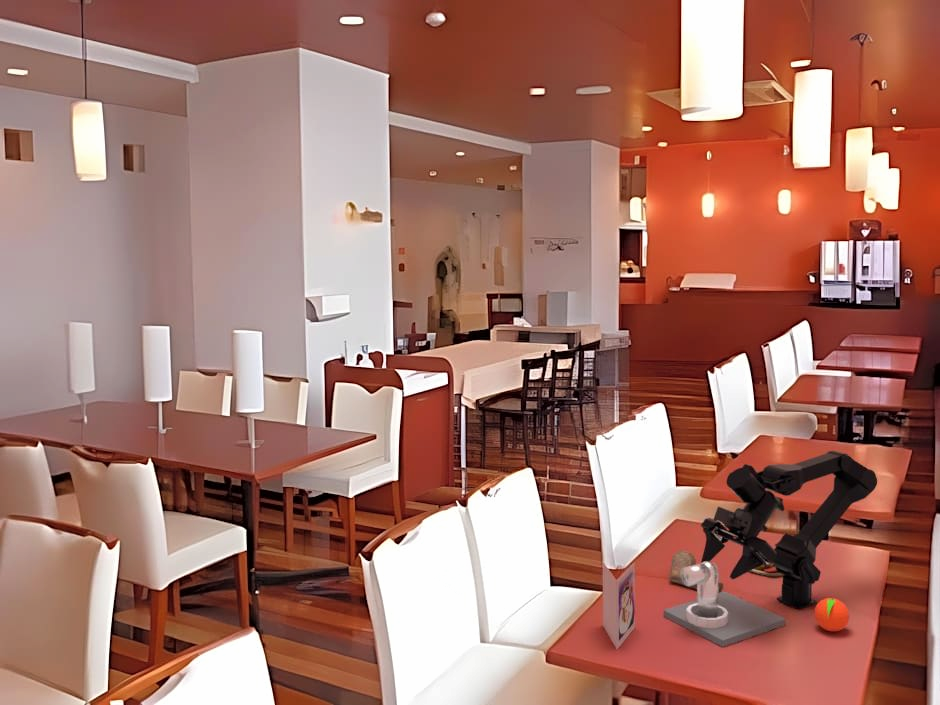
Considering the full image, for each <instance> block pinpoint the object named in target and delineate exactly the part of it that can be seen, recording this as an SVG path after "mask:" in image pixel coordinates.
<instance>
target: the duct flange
mask: <svg viewBox="0 0 940 705" xmlns="http://www.w3.org/2000/svg"><path fill="white" fill-rule="evenodd" d="M663 617H664V618H666V619H668V620H670V621H671V622H674V623H675V624H677V625H680V626H681V627H684V628H685V629H686V630H688V631H691V632H692V633H695V634H696V633H697V635H698V634H699V635H698V636H701V637H703V638H704V639H707V640H708V641H710V642H712V643H714V644H715V645H717V644H718V646H719V645H720V646H719V647H721V646H722V647H721V648H725V647H727V645H728V646H730V644H731V645H733V643H734V644H736V643H739V642H742V641H744V640H743V639H745V640H747V638H748V639H750V638H749V637H751V638H753V637H752V636H754V637H756V636H759V635H761V633H762V634H765V633H767V632H766V631H768V632H770V631H769V630H771V631H773V630H772V629H774V630H776V629H775V628H777V629H779V628H781V626H782V627H784V625H785V626H786V618H785V617H783V616H780V615H778V614H776V613H773V612H771V611H769V610H767V609H764V608H763V607H760V606H759V605H758V606H757V605H756V604H753V603H752V602H749V601H747V600H744V599H742V598H740V597H738V596H735V595H734V594H731V593H729V592H726V591H721V592H719V593H718V617H717V618H705V617H700V616H697V599H694V600H691V601H688V602H685V603H681V604H679V605H675V606H671V607H668V608H665V609H663ZM778 627H779V628H778ZM764 632H765V633H764ZM758 634H759V635H758ZM755 635H756V636H755ZM741 640H742V641H741ZM738 641H739V642H738ZM735 642H736V643H735ZM724 646H725V647H724Z"/></svg>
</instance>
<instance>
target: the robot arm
mask: <svg viewBox="0 0 940 705" xmlns="http://www.w3.org/2000/svg"><path fill="white" fill-rule="evenodd" d="M829 475H833V476H834V478H833V490H832V491H831V492H830V494H829V495H828V496H827V497H826V498H825V500H824V501H823V502H822V504H821V505H819V507H818V508H817V509H816V510H815V512H814V514H812V515H811V517H810V518H809V519H808V521H807V522H806V523H805V525H803V527H801V529H800V531H798V532H797V533H796V534H794V535H792V534H790V533H785V534H783V535H782V537H781V539H780V540H779V541H778V542H777V543H775V544H774V546H775V547H774V548H773V547H772V546H771V544H770V543H768V542H767V540H765V539H762V538H760V537H758V536H759V535H760V532H767V530H768V527H767V526H766V524H767V523H768V521H769V519H770V518H771V517H772V515H773V514H774V512H775V510H778V511H781V512H784V511H785V506H784V499H783V498H781V497H779V496H776V495H775V493H777V494H779V495H782V496H791V495H793V494H794V493H796V492H798V491H799V490H801V489H802V487H803V485H805V484H806V483H809V482H812V481H814V480H817V479H819V478H823V477H825V476H829ZM726 485H727V487H729V489H730V490H731V492H733V493H734V494H735V495H736V496H737V497H738V498H739V500H741V502H743V503H745V505H744V507H743V508H740V507H738V508H736V509H735V511H732V510H729V509H726V508H723V507H721V506H717V508H716V510H715V511H716V512H715V513H714V516H713V518H711V517H707V518H705V519H704V520H703V522H702V523H701V524H700V527H701V528H702V532H703V533H704V534H705V546H704V550H703V552H702V553H703V554H702V557H701V561H700V564H701V563H702V562H705V561H710V562H712V560H713V559H714V558H715V557H716V556H717V555H718V554H719V553H720V552H721V551H722V550H723V549H724V548H725V547H726V545H725V544H726V543H728V542H729V541H730V542H732V543H734V544H737V545H739V546H741V547H742V552H741V557H740V558H739V560H738V561H737V562H736V564H735V566H734V568H733V569H732V571H731V572H730V575H729V578H730V579H731V580H735V579H737V578H739V577H741V576H742V575H745V574H746V573H749V572H750V570H752V569H755V568H757V567H759V566H761V565H765V566H766V564H767V563H769V564H771V565H772V564H773V563H774V565H775V568H776V572H778V573H781V574H783V576H782V584H781V596H777V597H776V601H779V602H781V603H783V604H785V603H786V605H788V606H790V607H792V608H795V609H797V610H800V609H803V608H807V607H809V606H812V605H817V604H818V603H817V602H818V600H816V599H814V598H812V585H814V584H815V582H818V581H819V580H820V577H821V573H822V572H821V570H820V569H819V568H818V567H817V566H816V565H815V564H814V563H815V562H816V559H817V558H816V556H817V548H818V546H819V545H820V544H821V543H822V541H823V540H824V539H825V538H826V536H827V535H828V534H829V533H830V531H831V530H832V529H833V528H834V526H835V525H836V524H837V523H838V522H839V521H840V519H841V518H842V517H843V515H844V514H845V513H846V512H847V510H848V509H849V508H850V506H851V505H852V504H854V503H857V502H859V501H862V500H865V499H866V498H867V497H868V496H869V495H870V494H871V493H872V492H873V491H874V490H875V489H876V487H877V485H878V478H877V475H876V472H875V471H874V470H872V469H870V468H867V467H866V466H864V465H863V464H861V463H860V462H858V461H856V460H854V459H853V458H852V457H851V456H850V455H849V454H848V453H845V452H841V451H836V450H830V451H827V452H826V453H823V454H821V455H818V456H815V457H812V458H808V459H806V460H802V461H799V462H796V463H792V464H787V463H786V464H784V463H783V464H781V463H777V464H769V465H766V466H765V467H764V468H763V470H760V471H757V470H756V469H755V468H754V467H753V465H750V464H747V463H745V464H743V466H742V467H739V468H736V469H735V470H732V472H730V473H729V474H728V476H727V478H726ZM766 562H767V563H766Z"/></svg>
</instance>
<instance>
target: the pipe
mask: <svg viewBox="0 0 940 705" xmlns="http://www.w3.org/2000/svg"><path fill="white" fill-rule="evenodd" d="M693 565H697V561H696V558H695V556H694V555H693V554H692V553H691V552H689V551H687V550H680V551H677V552H675V553H674V555H673V556H672V559H671V565H670V574H669V578H668V579H669V581H670V582H672V583H674V584H675V583H676V584H678V585H681V586H684V587H688V588H690V589H693V588H694V589H693V590H697V584H696V585H692V586H686V585H684V584H683V582H682V580H681V577H680V571H681V569H682V568H684V567H688V566H693ZM723 590H724V583H723V582H722V581H719V587H718V593H720V592H723Z"/></svg>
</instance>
